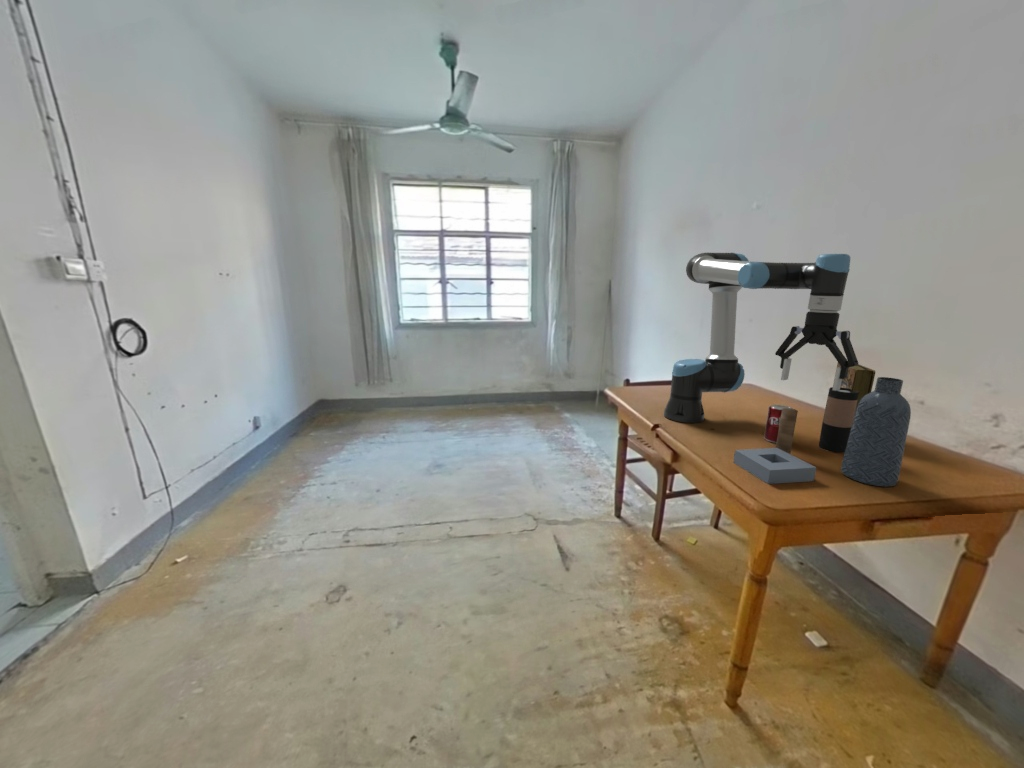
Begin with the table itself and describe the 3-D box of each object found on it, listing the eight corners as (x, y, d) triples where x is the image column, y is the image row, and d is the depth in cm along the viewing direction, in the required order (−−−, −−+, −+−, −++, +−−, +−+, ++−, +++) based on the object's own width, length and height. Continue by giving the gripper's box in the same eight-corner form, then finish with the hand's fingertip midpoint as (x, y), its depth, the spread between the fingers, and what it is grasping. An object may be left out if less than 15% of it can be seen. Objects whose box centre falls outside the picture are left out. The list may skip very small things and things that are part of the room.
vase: (908, 484, 111) (934, 383, 104) (876, 490, 108) (901, 385, 101) (859, 466, 122) (880, 373, 116) (829, 470, 119) (849, 375, 112)
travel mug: (816, 448, 135) (827, 389, 131) (819, 442, 141) (830, 385, 136) (845, 455, 130) (858, 394, 126) (847, 448, 136) (860, 389, 131)
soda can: (792, 445, 138) (798, 411, 135) (768, 443, 139) (774, 409, 137) (782, 437, 145) (788, 405, 142) (760, 436, 146) (765, 403, 144)
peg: (771, 453, 131) (779, 408, 128) (782, 452, 132) (790, 407, 128) (781, 458, 127) (789, 412, 124) (792, 457, 128) (801, 411, 124)
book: (823, 425, 159) (836, 361, 153) (840, 426, 157) (853, 362, 151) (841, 439, 144) (856, 369, 138) (860, 441, 142) (876, 370, 136)
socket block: (733, 462, 124) (735, 449, 123) (775, 460, 126) (777, 447, 125) (767, 483, 110) (770, 470, 110) (813, 480, 112) (816, 467, 112)
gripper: (770, 308, 124) (758, 377, 129) (873, 315, 103) (854, 396, 109) (783, 308, 128) (771, 374, 133) (884, 314, 107) (866, 392, 112)
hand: (808, 384), depth 121 cm, fingers open, 13 cm apart
